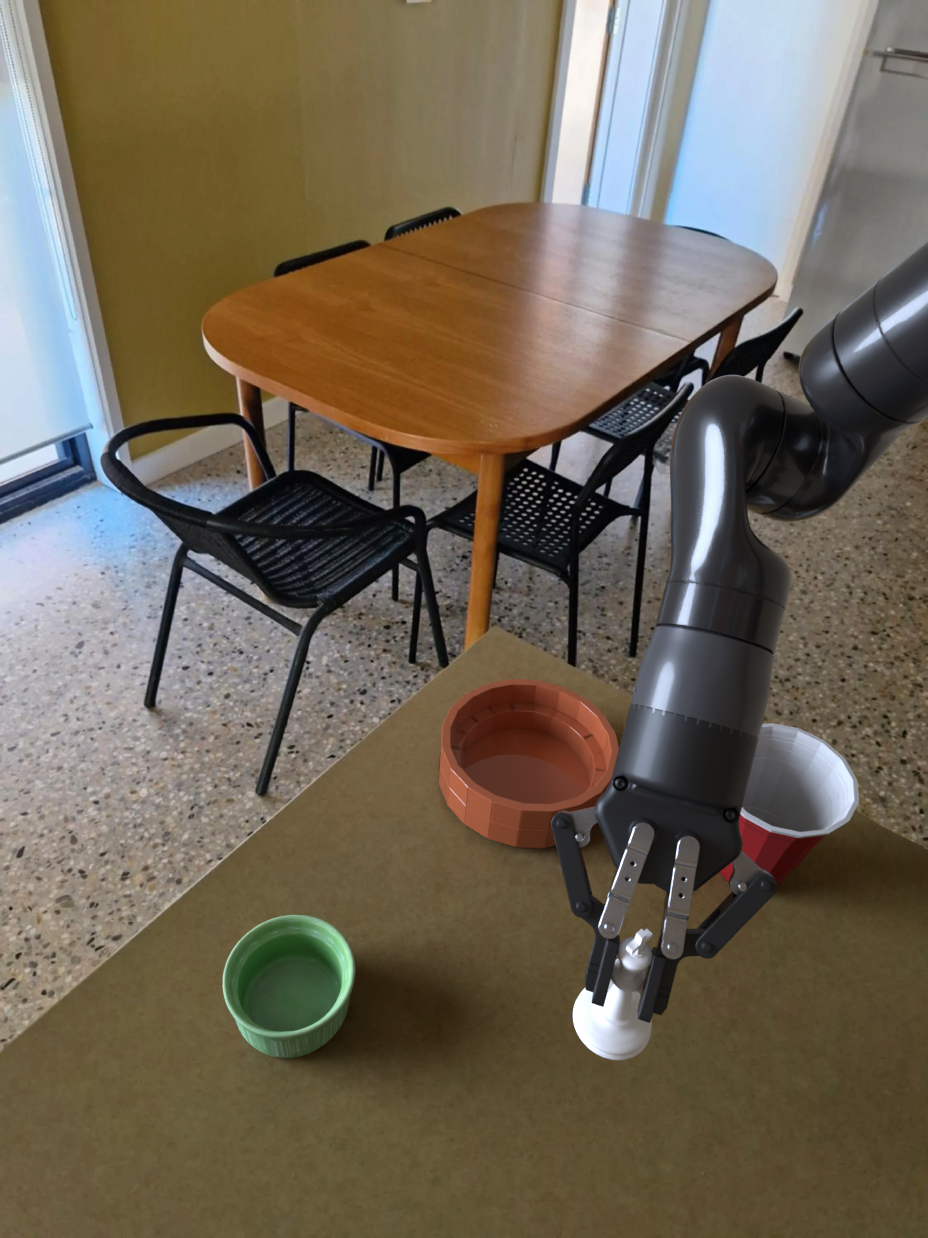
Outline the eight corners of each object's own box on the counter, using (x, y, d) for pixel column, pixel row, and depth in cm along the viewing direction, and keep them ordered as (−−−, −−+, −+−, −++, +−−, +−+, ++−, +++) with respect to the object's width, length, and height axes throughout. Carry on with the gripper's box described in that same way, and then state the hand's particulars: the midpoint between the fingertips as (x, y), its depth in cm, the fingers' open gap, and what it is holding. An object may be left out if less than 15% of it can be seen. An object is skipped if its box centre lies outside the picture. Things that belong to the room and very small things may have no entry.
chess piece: (556, 1014, 56) (579, 926, 49) (609, 969, 58) (638, 879, 52) (614, 1077, 53) (646, 993, 47) (667, 1027, 56) (704, 940, 49)
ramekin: (381, 991, 65) (381, 959, 62) (296, 1095, 59) (293, 1065, 56) (289, 925, 69) (286, 892, 66) (201, 1017, 63) (193, 985, 60)
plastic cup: (656, 857, 76) (688, 763, 68) (729, 795, 82) (766, 702, 74) (764, 948, 70) (812, 856, 62) (835, 874, 76) (887, 781, 68)
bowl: (637, 770, 83) (649, 730, 80) (553, 884, 73) (562, 843, 70) (499, 696, 90) (504, 656, 86) (403, 791, 79) (405, 750, 76)
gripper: (576, 681, 50) (495, 988, 48) (830, 748, 47) (752, 1076, 46) (582, 688, 57) (512, 955, 56) (802, 747, 54) (735, 1030, 53)
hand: (621, 1008), depth 51 cm, fingers closed on chess piece
